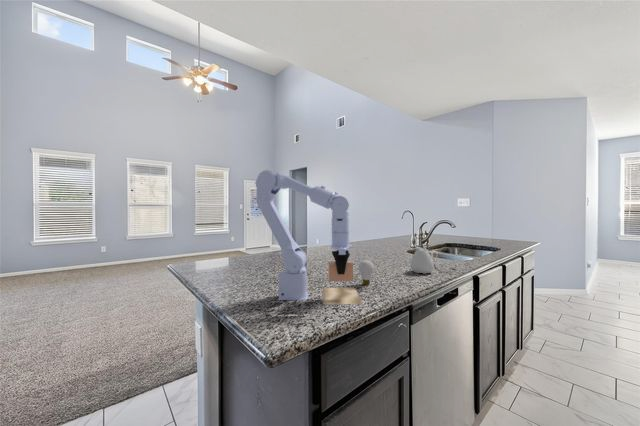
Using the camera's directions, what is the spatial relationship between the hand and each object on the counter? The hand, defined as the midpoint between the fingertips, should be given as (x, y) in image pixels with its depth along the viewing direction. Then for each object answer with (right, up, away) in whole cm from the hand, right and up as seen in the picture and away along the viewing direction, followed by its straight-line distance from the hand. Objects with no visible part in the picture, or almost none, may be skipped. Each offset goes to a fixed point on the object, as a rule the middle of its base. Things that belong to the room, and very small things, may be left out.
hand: (340, 273), depth 89 cm
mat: (0, -9, +2) cm, 9 cm away
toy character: (+41, -8, +37) cm, 56 cm away
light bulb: (+11, -9, +15) cm, 21 cm away
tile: (0, -2, 0) cm, 2 cm away
